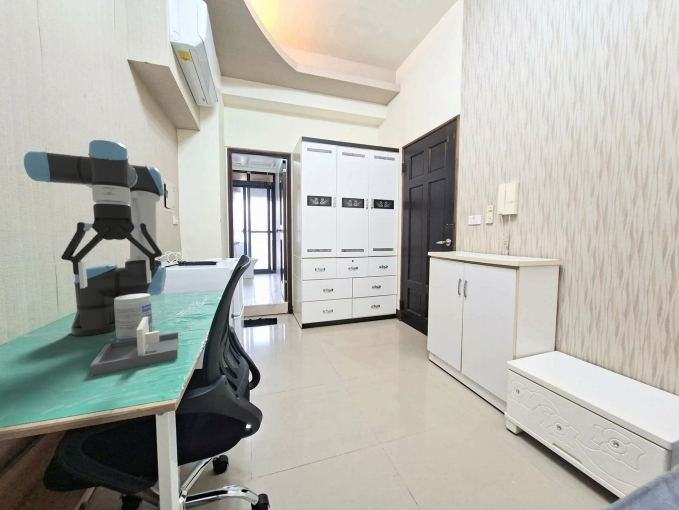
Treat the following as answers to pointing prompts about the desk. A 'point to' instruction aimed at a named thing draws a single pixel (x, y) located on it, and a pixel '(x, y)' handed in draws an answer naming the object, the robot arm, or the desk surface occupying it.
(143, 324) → the pusher
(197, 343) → the desk surface
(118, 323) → the supplement tub
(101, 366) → the gray tray
